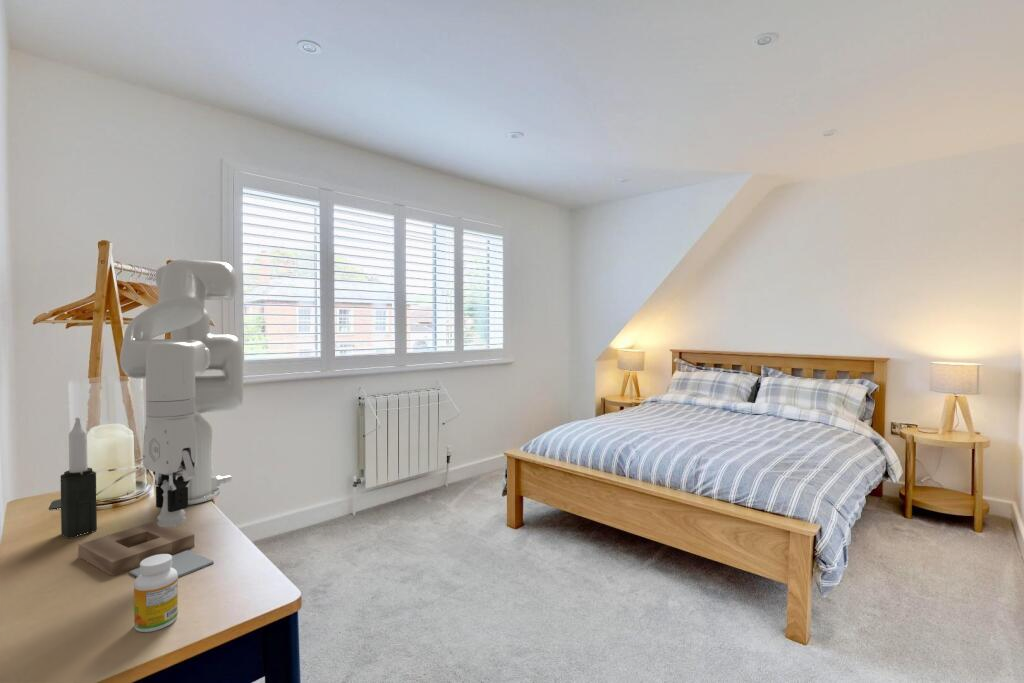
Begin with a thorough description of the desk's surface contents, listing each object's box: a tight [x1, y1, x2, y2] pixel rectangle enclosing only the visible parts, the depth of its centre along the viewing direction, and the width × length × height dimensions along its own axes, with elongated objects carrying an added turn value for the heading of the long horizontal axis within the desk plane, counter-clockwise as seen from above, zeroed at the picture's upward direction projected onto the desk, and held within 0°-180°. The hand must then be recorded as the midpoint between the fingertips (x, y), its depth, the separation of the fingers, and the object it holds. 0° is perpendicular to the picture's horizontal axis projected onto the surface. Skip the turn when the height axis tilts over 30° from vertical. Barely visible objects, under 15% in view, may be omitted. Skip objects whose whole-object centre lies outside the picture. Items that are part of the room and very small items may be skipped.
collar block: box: [77, 519, 195, 577], centre depth 99 cm, size 14×14×2 cm
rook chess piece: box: [156, 478, 187, 527], centre depth 92 cm, size 4×4×8 cm
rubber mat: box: [128, 549, 215, 578], centre depth 92 cm, size 10×9×1 cm
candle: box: [60, 417, 98, 539], centre depth 107 cm, size 5×5×25 cm
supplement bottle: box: [133, 554, 179, 633], centre depth 75 cm, size 5×5×10 cm
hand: (172, 506), depth 92 cm, fingers closed on rook chess piece, 3 cm apart
